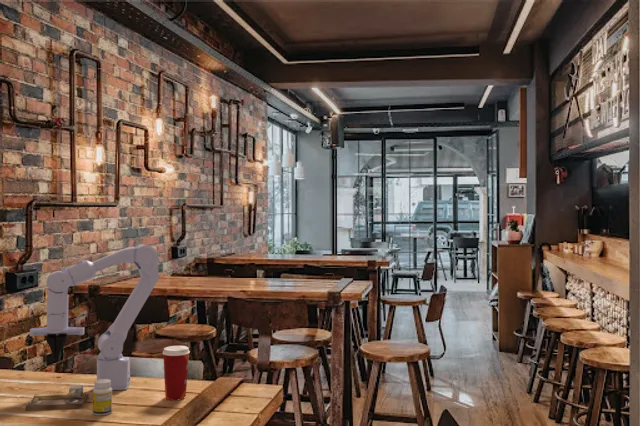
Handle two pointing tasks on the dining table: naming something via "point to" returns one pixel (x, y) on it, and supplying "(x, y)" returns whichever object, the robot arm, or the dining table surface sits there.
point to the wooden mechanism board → (56, 401)
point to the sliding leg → (75, 391)
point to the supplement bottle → (102, 397)
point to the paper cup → (175, 371)
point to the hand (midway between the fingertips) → (57, 360)
